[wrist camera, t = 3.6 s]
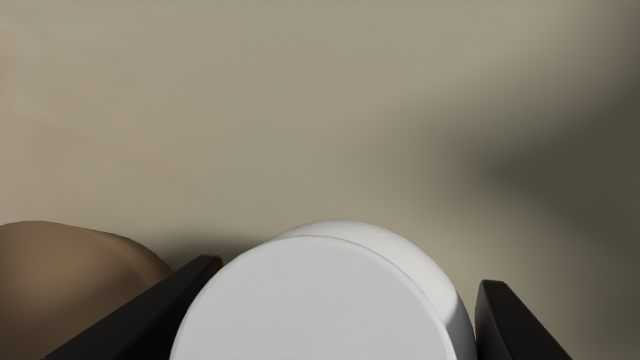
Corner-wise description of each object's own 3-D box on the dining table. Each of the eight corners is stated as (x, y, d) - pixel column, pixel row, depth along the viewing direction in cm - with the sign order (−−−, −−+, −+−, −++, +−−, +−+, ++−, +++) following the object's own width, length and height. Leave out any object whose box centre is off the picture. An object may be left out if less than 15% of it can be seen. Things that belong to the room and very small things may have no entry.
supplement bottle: (263, 355, 15) (42, 467, 6) (330, 223, 16) (234, 129, 6) (400, 443, 13) (407, 791, 4) (467, 292, 14) (599, 298, 5)
